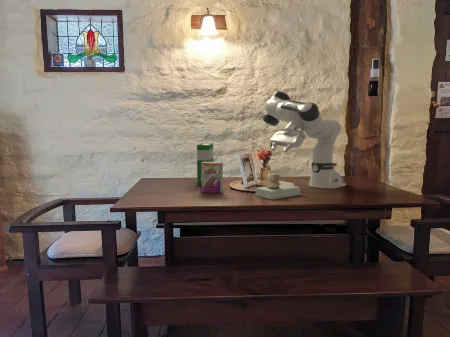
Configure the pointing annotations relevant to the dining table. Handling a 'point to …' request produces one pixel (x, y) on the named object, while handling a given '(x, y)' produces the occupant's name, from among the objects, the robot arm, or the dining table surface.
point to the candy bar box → (211, 177)
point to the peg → (273, 181)
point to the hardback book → (203, 157)
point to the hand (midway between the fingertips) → (277, 151)
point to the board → (278, 191)
